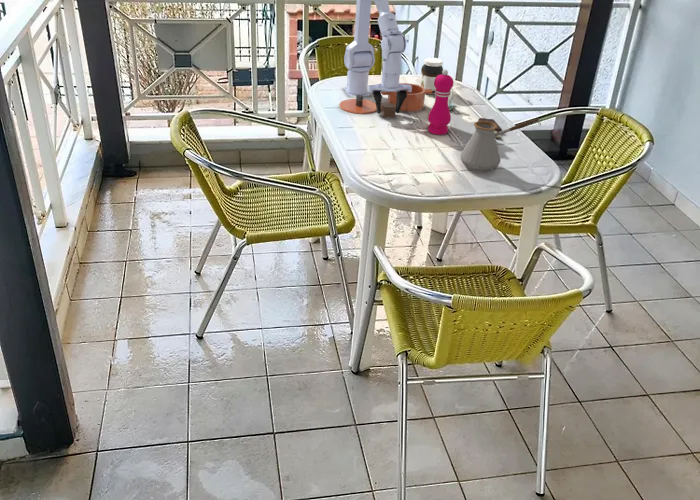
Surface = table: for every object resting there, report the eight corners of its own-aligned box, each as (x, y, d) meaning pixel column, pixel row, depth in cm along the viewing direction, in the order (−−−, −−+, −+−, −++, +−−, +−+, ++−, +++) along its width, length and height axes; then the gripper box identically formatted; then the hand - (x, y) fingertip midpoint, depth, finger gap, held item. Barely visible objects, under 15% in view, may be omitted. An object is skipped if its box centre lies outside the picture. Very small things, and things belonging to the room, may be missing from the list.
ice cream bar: (506, 139, 215) (491, 122, 227) (506, 134, 214) (492, 118, 226) (490, 139, 214) (476, 122, 227) (490, 134, 213) (477, 117, 226)
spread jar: (416, 87, 257) (419, 56, 251) (445, 86, 259) (449, 56, 253) (425, 97, 247) (428, 65, 241) (454, 97, 249) (459, 65, 243)
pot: (376, 101, 240) (377, 83, 237) (424, 100, 244) (426, 82, 241) (385, 113, 230) (386, 95, 227) (435, 112, 234) (437, 94, 230)
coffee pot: (463, 175, 189) (471, 124, 182) (455, 158, 199) (462, 110, 191) (537, 176, 191) (548, 125, 184) (525, 159, 201) (534, 111, 194)
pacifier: (442, 112, 234) (458, 111, 235) (443, 95, 230) (459, 94, 232) (434, 105, 240) (450, 104, 241) (435, 88, 236) (451, 87, 238)
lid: (335, 102, 237) (336, 89, 235) (373, 101, 240) (374, 88, 237) (343, 115, 226) (344, 102, 223) (382, 114, 228) (383, 101, 226)
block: (380, 114, 229) (381, 103, 226) (391, 114, 229) (392, 103, 227) (383, 118, 225) (384, 107, 223) (394, 118, 226) (395, 107, 224)
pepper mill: (448, 136, 214) (456, 74, 204) (425, 133, 215) (432, 71, 205) (449, 128, 220) (457, 67, 210) (427, 126, 221) (434, 65, 211)
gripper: (372, 76, 215) (369, 117, 222) (416, 75, 218) (411, 116, 225) (367, 69, 221) (364, 109, 228) (409, 69, 224) (406, 109, 231)
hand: (387, 112), depth 227 cm, fingers open, 6 cm apart
